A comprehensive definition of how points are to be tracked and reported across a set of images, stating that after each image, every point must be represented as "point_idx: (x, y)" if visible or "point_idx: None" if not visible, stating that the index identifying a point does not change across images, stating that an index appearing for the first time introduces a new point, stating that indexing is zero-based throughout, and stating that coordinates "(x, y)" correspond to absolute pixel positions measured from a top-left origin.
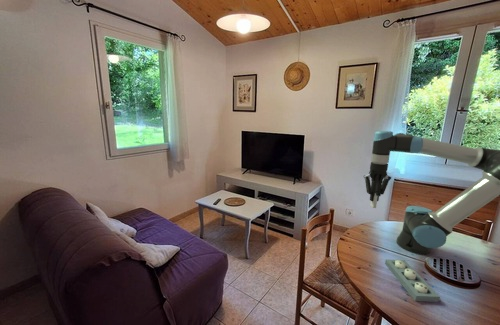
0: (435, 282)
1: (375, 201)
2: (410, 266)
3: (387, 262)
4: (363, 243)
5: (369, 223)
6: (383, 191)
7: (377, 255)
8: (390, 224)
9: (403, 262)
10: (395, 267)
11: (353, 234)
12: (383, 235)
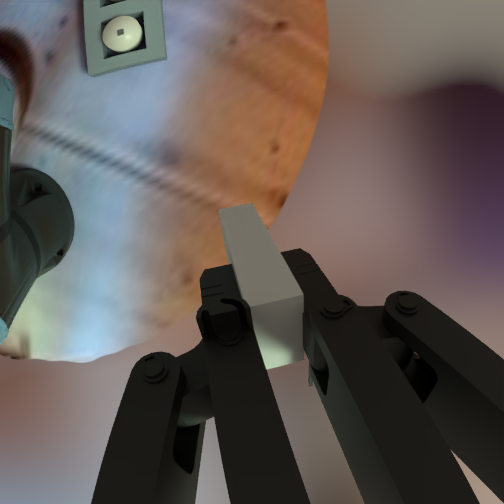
0: (42, 19)
1: (250, 245)
2: (86, 40)
3: (164, 43)
4: (207, 189)
5: (148, 338)
6: (140, 412)
7: (175, 111)
8: (81, 343)
9: (106, 40)
10: (148, 15)
11: None
12: (111, 269)
